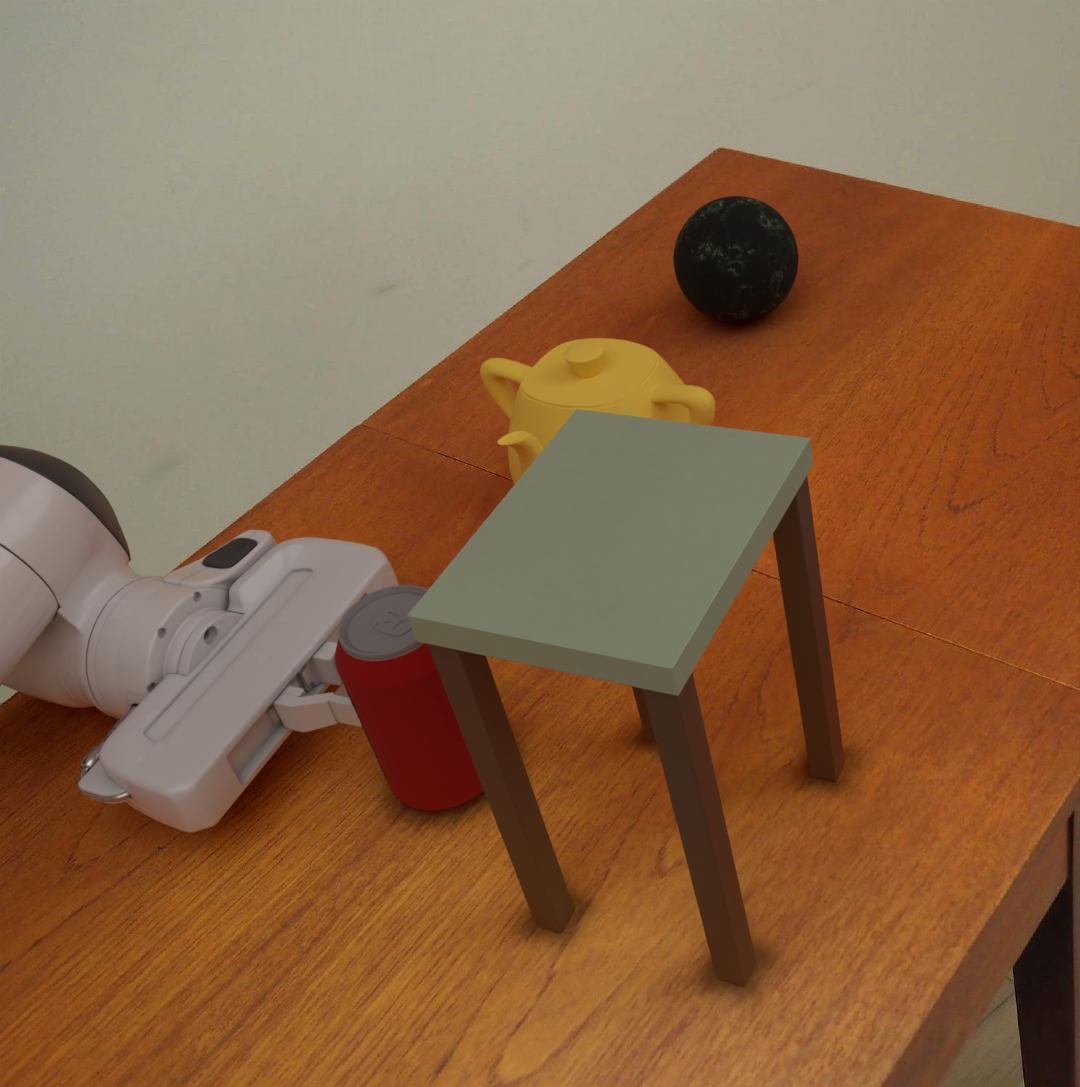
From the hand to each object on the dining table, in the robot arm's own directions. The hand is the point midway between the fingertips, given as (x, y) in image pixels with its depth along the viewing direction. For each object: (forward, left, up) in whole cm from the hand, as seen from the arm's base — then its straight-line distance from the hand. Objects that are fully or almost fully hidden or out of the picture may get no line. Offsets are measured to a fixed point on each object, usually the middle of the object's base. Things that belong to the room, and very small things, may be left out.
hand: (374, 699), depth 76 cm
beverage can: (+2, -3, -5) cm, 6 cm away
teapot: (+20, +14, -5) cm, 25 cm away
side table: (+11, -15, -5) cm, 20 cm away
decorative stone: (+41, +30, -5) cm, 51 cm away
